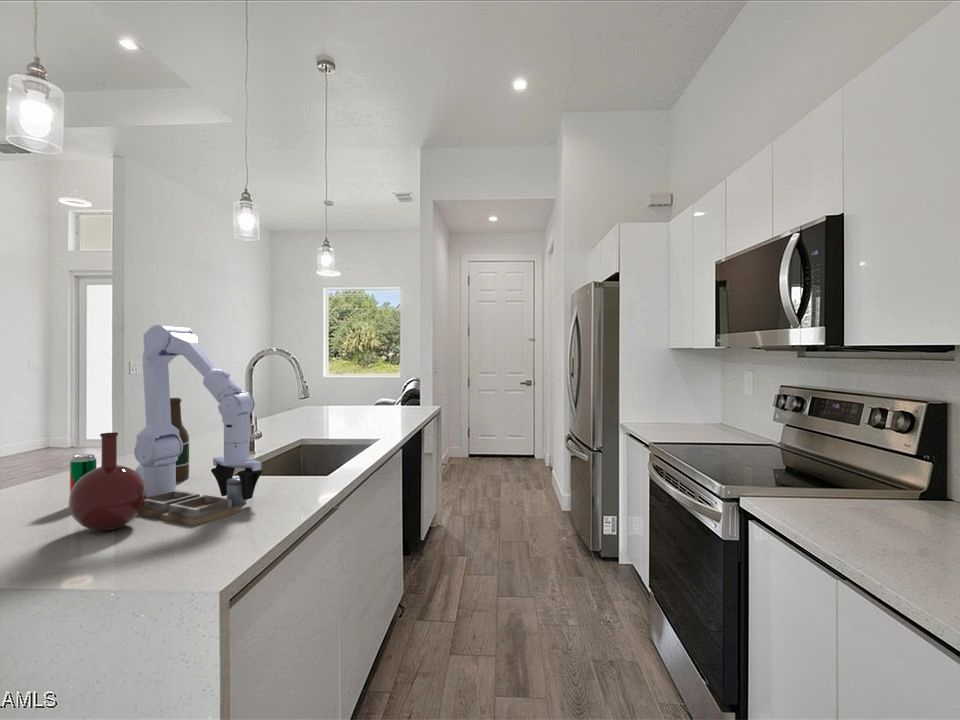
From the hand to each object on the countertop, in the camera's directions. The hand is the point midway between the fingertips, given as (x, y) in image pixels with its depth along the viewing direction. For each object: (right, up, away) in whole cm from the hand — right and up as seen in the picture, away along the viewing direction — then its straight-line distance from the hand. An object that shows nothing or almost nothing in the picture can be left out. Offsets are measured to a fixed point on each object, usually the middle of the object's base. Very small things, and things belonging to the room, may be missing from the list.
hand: (236, 497), depth 125 cm
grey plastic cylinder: (0, -2, 0) cm, 2 cm away
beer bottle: (-30, -2, +24) cm, 38 cm away
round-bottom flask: (-18, -2, -19) cm, 26 cm away
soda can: (-36, -2, -2) cm, 36 cm away
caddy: (-9, -2, -7) cm, 11 cm away
